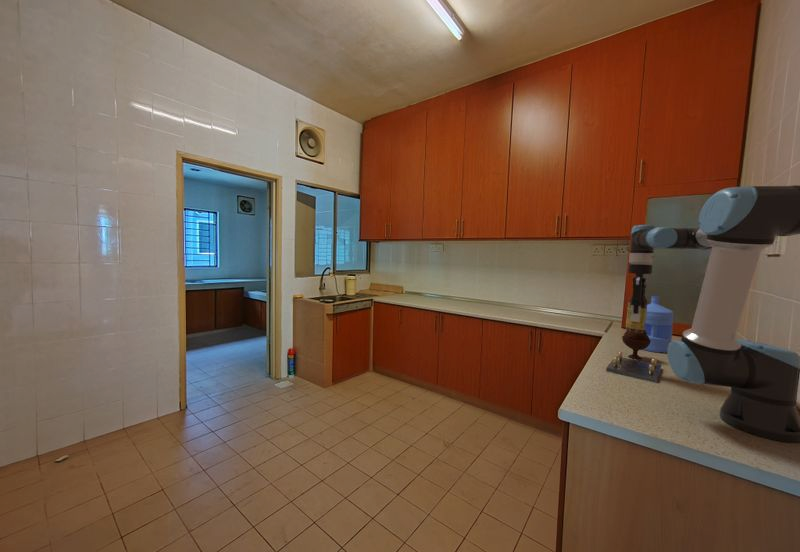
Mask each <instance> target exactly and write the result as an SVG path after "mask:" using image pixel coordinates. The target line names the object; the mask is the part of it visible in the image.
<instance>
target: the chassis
mask: <svg viewBox="0 0 800 552" xmlns="http://www.w3.org/2000/svg"><path fill="white" fill-rule="evenodd" d="M605 370H606V372H609V373H613V374H617V375H622V376H626V377H631V378H636V379H640V380H643V381H648V382H653V383H656V384H657V383H658V380H659V377H660V373H661V370H662V365H660V364H657V359H656V358H651V360H650V362H647V361H642V360H634V359H630V358H628V357H627V358H626V357H623V352H622V351H618V352H617V356H616V355H615V356H613V359H612V360H611V362H609V364H608V365H607V366H606V369H605Z"/></svg>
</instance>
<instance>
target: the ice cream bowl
mask: <svg viewBox="0 0 800 552" xmlns="http://www.w3.org/2000/svg"><path fill="white" fill-rule="evenodd" d="M621 339H622V342H623V344H624V345H625V346H626V347H628V348H629V349H630V350H632V354H629V355H628V356H627V358H628V357H629V358H628V359H630V358H632V360H634V359H636V360H637V361H642V360H643V358H642V357H641V356H640V355H638V352H639V351H642V350H643V349H645V348H647V347H648V346H649V344H650V342H651V340H649V337H648V336H647V332H646V331H645V330H644V333H633V332H629V331H627V330H625V332H624V333H623V335H622V337H621ZM643 351H644V350H643Z"/></svg>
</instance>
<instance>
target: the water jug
mask: <svg viewBox="0 0 800 552" xmlns="http://www.w3.org/2000/svg"><path fill="white" fill-rule="evenodd" d="M650 297H651V299H650V303H649V304H647V313H646V321H645V329H644V330H645V331H646V332H647V336H648V337H649V340H651V342H650V344H649V346H648V347H647V348H645V349H643V351H646V350H647V351H646V352H651V351H652V353H658V352H663V353H662V354H667V350H668V346H669V344H670V343H671V342H672V341H673V339H672V337H673V324H674V318H675V315H674V311H672V310H671V309H669V308H666V307H665V306H663V305H660V303H659V302H660V296H657V295H656V296H655V295H654V296H653V295H651V296H650Z"/></svg>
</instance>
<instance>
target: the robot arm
mask: <svg viewBox="0 0 800 552" xmlns="http://www.w3.org/2000/svg"><path fill="white" fill-rule="evenodd" d="M698 224H699V226H698V227H695V228H694V227H692V228H691V227H686V228H685V227H682V228H681V227H677V228H676V227H668V226H667V227H666V226H658V227H656V226H655V225H654V224H639V225H637V224H636V225H634V226H633V227H632V228H631V233H630V244H629V245H630V247H629V257H628V263H629V264H628V269H627V270H628V273H629V274H635V277H633V278H632V295H633V297H632V296H631V297H632V303H630V305H632V313H631V321H634V322H640V309H641V306H640V305H641V304H640V302H641V293H642V289H644V284H646V282H647V279H646V278H645V275H652V273H653V265H652V264H653V260H654V259H655V258H656V256H655V255H654V252H655V251H654V250H655V249H656V250H657V249H661V250H662V249H663V250H664V249H667V250H669V249H670V250H673V249H674V250H677V249H678V250H679V249H680V250H683V249H685V250H701V251H702V250H703V251H704V250H705V251H707V250H710V251H711V252H710V254H709V258H708V262H707V266H706V270H705V272H704V273H705V274H704V278H703V281H702V285H701V290H700V293H699V296H698V297H699V298H698V301H697V305H696V308H695V309H696V310H695V311H694V312H695V313H694V317H693V320H692V325H691V328H688V329H686V330H683V332H682V334H681V338H680V339H675V340H671V343H670V344H669V346H668V350H667V353H666V355H667V360H668V364H669V366H670V369H671V370H672V372H673V373H674V375H675V376H676V377H677V378H678V379H679V380H681V381H683V382H685V383H691V384H697V385H701V386H702V385H705V386H706V385H707V386H718V387H727V388H730V392H729V394H728V396H727V397H726V399H725V401H723V404H722V405H721V407H720V410H719V418H720V419H721V420H722V421H724V422H725V423H726V424H728V425H730V426H732V427H734V428H737V429H738V430H741V431H743V432H746V433H750V434H752V435H755V436H759V437H762V438H764V439H765V438H766V439H771V440H772V441H773V440H774V441H779V442H785V443H800V416H799V413H798V412H799V411H798V410H797V400H798V392H799V391H798V390H799V381H800V354H798V353H797V352H796V351H793V350H790V349H788V348H784V347H780V346H776V345H772V344H767V343H764V342H759V341H758V342H757V341H753V340H748V339H739V338H738V339H736V335H737V331H738V328H739V325H740V322H741V320H742V315H743V313H744V309H745V306H746V302H747V299H748V296H749V293H750V289H751V286H752V282H753V280H754V276H755V274H756V273H755V272H756V269H757V267H758V264H759V259H760V256H761V252H762V251H764V250H765V249H767V248H769V247H771V246H773V245H774V242H775V239H776V237H791V236H795V235H797V236H798V235H800V185H799V184H798V185H766V186H765V185H758V186H755V185H754V186H753V185H751V186H750V185H743V186H733V187H726V188H723V189H720V190H718V191H717V192H715V193H713V195H712V196H710V197H709V198H708V199H707V200H706V201H705V202H704V204H703V206H702V208H701V210H700V213H699V216H698ZM641 286H642V287H641Z"/></svg>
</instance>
